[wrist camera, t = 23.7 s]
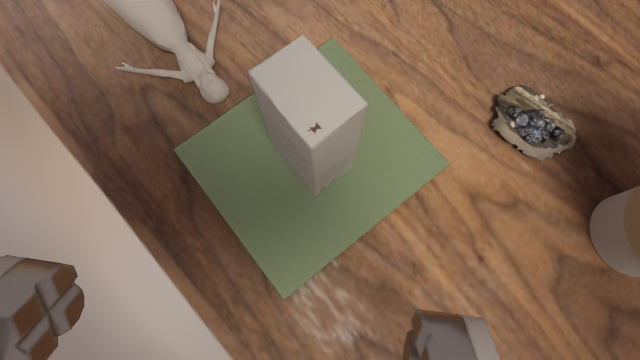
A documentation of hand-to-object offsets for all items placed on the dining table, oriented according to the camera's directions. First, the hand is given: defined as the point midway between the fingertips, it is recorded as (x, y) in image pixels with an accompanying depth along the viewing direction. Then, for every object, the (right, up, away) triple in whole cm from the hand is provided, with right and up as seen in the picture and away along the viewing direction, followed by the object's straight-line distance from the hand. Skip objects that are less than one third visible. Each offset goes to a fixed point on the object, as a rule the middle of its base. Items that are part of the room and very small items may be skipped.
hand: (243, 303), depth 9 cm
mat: (+1, +5, +24) cm, 24 cm away
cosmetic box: (+1, +5, +23) cm, 24 cm away
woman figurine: (-12, +17, +27) cm, 34 cm away
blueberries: (+21, +8, +25) cm, 34 cm away
